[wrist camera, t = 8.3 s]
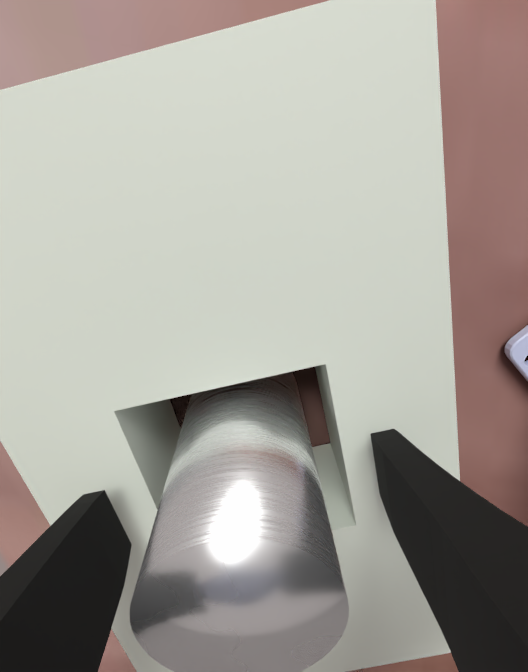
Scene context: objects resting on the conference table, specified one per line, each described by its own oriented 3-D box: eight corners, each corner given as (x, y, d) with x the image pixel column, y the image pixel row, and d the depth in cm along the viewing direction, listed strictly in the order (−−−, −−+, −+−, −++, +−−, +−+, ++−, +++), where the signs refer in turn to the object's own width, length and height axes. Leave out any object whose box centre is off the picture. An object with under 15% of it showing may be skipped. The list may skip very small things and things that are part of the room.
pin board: (422, 552, 18) (468, 649, 14) (175, 600, 18) (156, 705, 15) (369, 49, 11) (434, -29, 7) (-35, 155, 11) (-178, 138, 7)
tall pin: (319, 396, 14) (392, 616, 7) (245, 456, 15) (241, 708, 8) (245, 326, 13) (239, 500, 6) (170, 396, 14) (83, 623, 7)
